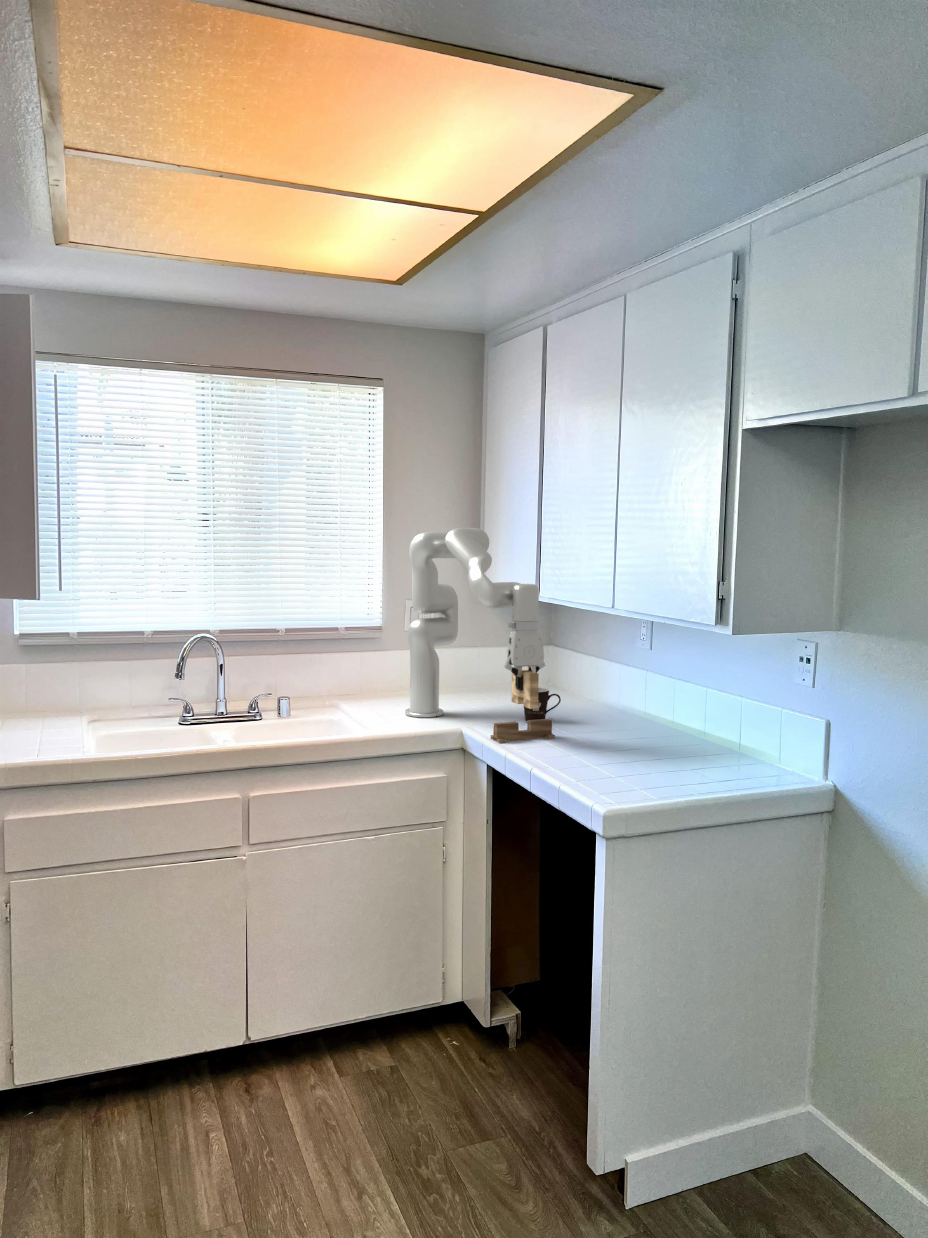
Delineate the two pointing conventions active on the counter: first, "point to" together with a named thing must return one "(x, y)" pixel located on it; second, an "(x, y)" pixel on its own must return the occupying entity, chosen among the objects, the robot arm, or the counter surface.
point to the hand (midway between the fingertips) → (524, 689)
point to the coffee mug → (540, 706)
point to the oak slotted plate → (526, 690)
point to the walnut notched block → (512, 732)
